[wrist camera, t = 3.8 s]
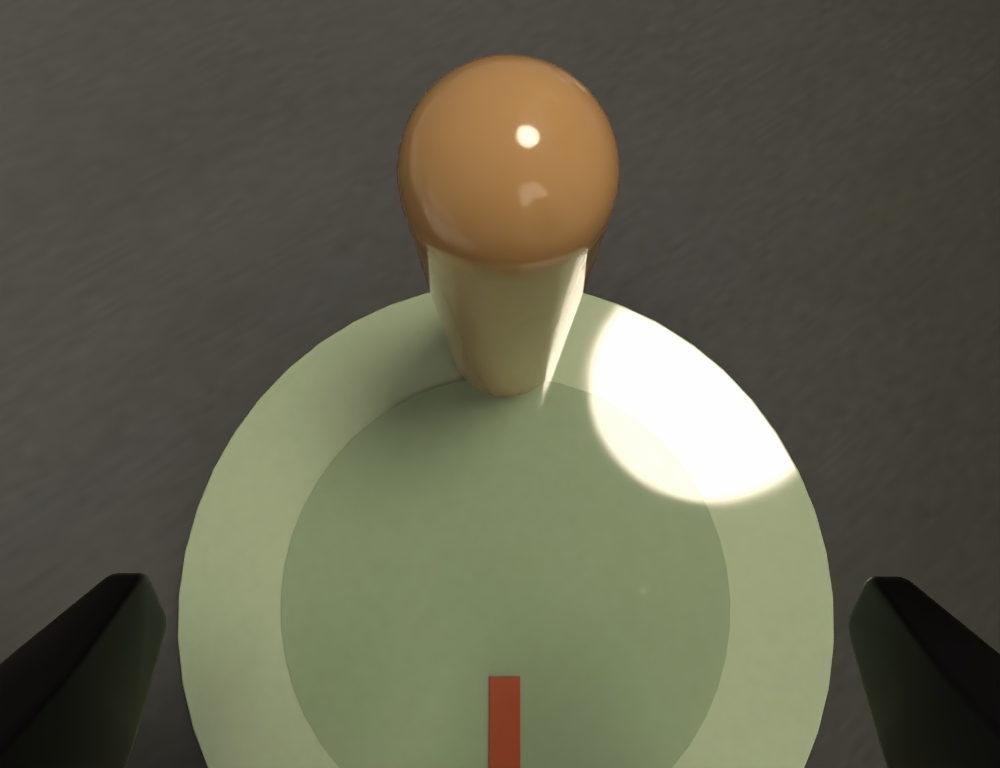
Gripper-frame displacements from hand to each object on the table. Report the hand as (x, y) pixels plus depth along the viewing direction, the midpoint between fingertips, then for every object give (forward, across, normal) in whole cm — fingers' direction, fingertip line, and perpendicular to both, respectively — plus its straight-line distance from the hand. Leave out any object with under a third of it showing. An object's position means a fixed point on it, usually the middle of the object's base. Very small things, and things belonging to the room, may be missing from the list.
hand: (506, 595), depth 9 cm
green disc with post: (+8, 0, +10) cm, 12 cm away
